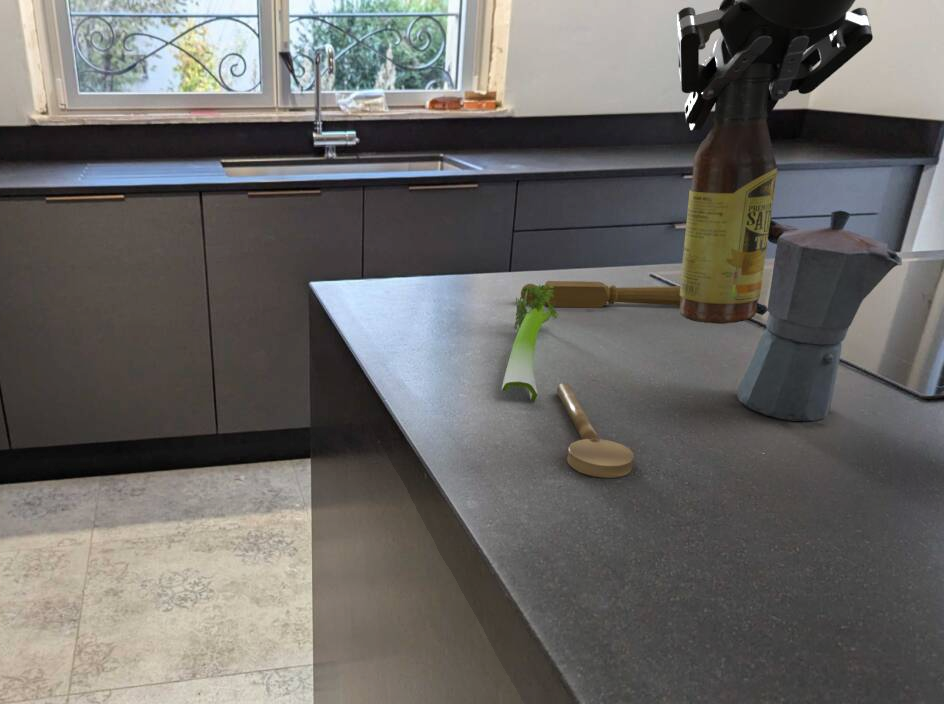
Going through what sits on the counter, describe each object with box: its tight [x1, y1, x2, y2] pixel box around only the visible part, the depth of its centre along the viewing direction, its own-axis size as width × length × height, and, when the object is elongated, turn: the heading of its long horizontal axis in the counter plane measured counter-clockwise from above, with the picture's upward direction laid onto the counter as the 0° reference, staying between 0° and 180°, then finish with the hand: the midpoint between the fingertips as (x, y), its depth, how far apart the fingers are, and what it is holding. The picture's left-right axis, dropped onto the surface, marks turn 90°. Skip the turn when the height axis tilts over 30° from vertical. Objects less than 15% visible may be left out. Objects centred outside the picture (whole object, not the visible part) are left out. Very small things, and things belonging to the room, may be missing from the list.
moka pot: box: [735, 210, 903, 422], centre depth 82 cm, size 10×15×20 cm, turn 36°
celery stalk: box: [500, 284, 560, 404], centre depth 99 cm, size 6×7×30 cm
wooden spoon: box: [556, 382, 635, 479], centre depth 80 cm, size 20×6×1 cm, turn 178°
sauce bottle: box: [679, 62, 778, 325], centre depth 66 cm, size 7×6×20 cm
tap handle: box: [520, 280, 681, 309], centre depth 121 cm, size 3×3×30 cm
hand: (720, 121), depth 67 cm, fingers closed on sauce bottle, 3 cm apart
